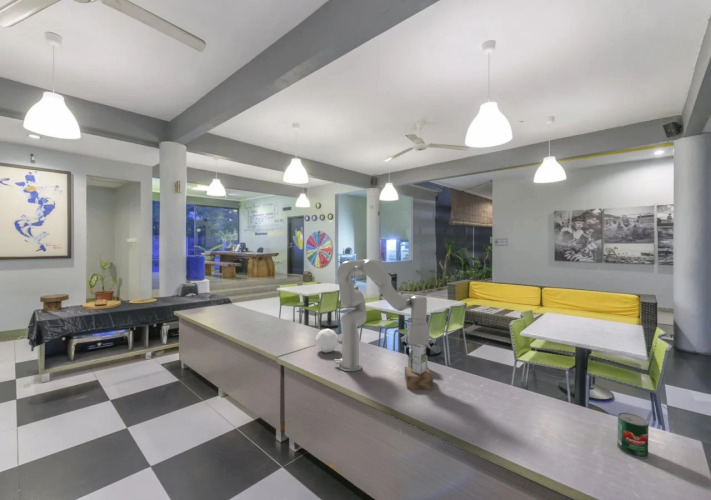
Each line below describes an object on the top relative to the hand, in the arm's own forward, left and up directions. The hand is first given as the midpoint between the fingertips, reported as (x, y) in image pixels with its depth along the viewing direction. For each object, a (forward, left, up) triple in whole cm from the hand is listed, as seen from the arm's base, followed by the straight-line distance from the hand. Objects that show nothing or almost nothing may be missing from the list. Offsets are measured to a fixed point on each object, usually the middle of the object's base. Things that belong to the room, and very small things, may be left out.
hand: (417, 355), depth 159 cm
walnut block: (0, 0, -14) cm, 14 cm away
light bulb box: (+2, +18, -14) cm, 23 cm away
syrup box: (0, 0, -8) cm, 8 cm away
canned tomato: (+65, -48, -14) cm, 82 cm away
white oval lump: (-50, +43, -14) cm, 68 cm away
